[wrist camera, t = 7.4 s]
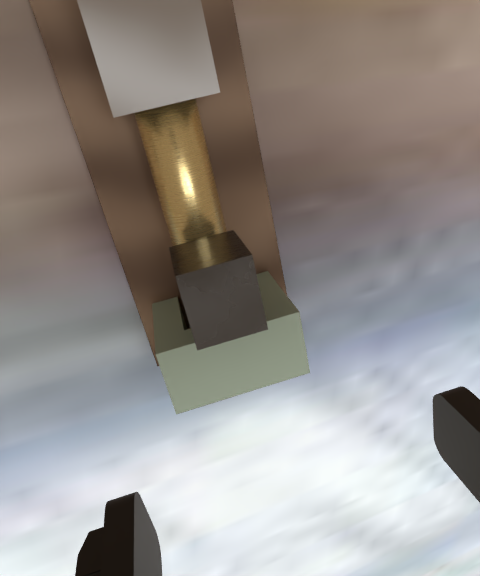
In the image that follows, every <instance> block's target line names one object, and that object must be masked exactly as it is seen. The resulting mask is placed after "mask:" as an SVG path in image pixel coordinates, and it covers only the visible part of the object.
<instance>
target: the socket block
mask: <svg viewBox="0 0 480 576" xmlns="http://www.w3.org/2000/svg"><path fill="white" fill-rule="evenodd" d="M256 275H257V279H258V284H259V289H260V293H261V298H262V303H263V307H264V312H265V317H266V321H267V326H268V330H265V331H261V332H258V333H255V334H251V335H248V336H245V337H241V338H238V339H235V340H231V341H228V342H224V343H221V344H218V345H214V346H211V347H208V348H204V349H201V350H198V351H197V348H196V344H195V341H194V338H193V334H192V331H191V328H190V329H187V327H186V324H185V321H184V317H183V314H182V311H181V307H180V304H179V301H178V298H177V297H174V298H171V299H167V300H164V301H160V302H157V303H153V304H152V310H153V324H154V339H155V354H156V357H157V360H158V363H159V366H160V369H161V372H162V374H163V377H164V380H165V383H166V386H167V389H168V392H169V394H170V397H171V400H172V403H173V406H174V409H175V412H176V414H179V413H182V412H186V411H189V410H192V409H195V408H198V407H202V406H205V405H208V404H211V403H214V402H218V401H221V400H224V399H227V398H230V397H234V396H237V395H240V394H243V393H246V392H250V391H253V390H256V389H259V388H262V387H266V386H269V385H272V384H275V383H278V382H282V381H285V380H288V379H291V378H294V377H298V376H301V375H304V374H307V373H310V370H309V365H308V359H307V353H306V347H305V342H304V336H303V330H302V325H301V319H300V313H299V311H298V310H297V308H296V307H295V306H294V304H293V303H292V302H291V301H290V299H289V298H288V297H287V295H286V294H285V293H284V291H283V290H282V289H281V288H280V286H279V285H278V284H277V282H276V281H275V280H274V278H273V277H272V276H271V275H270V273H269V272H268V271H266V272H262V273H259V274H256Z"/></svg>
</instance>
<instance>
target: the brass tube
mask: <svg viewBox="0 0 480 576" xmlns="http://www.w3.org/2000/svg"><path fill="white" fill-rule="evenodd" d="M134 115H135V118H136V121H137V125H138V128H139V132H140V135H141V139H142V142H143V145H144V149H145V152H146V156H147V159H148V162H149V166H150V169H151V173H152V176H153V180H154V183H155V186H156V190H157V193H158V197H159V200H160V203H161V207H162V210H163V214H164V217H165V221H166V224H167V227H168V231H169V234H170V238H171V241H172V244H173V246H172V247H169V250H170V255H171V259H172V264H173V269H174V273H175V278H176V281H177V284H178V288H179V291H180V294H181V298H182V301H183V304H184V308H185V311H186V314H187V318H188V321H189V324H190V328H191V331H192V334H193V338H194V341H195V344H196V348H197V351H198V350H201V349H204V348H208V347H211V346H214V345H218V344H221V343H224V342H228V341H231V340H235V339H238V338H241V337H245V336H248V335H251V334H255V333H258V332H261V331H265V330H268V326H267V321H266V317H265V312H264V307H263V303H262V298H261V293H260V289H259V284H258V279H257V275H256V270H255V265H254V261H253V256H252V254H251V252H250V251H249V250H248V248H247V247H246V246H245V244H244V243H243V242H242V240H241V239H240V238H239V236H238V235H237V234H236V232H235V231H234V230H231V231H227V230H226V226H225V222H224V217H223V213H222V209H221V205H220V200H219V196H218V192H217V187H216V183H215V179H214V175H213V170H212V166H211V162H210V158H209V153H208V149H207V145H206V141H205V136H204V132H203V128H202V123H201V119H200V115H199V111H198V106H197V102H196V98H195V99H191V100H187V101H182V102H178V103H174V104H170V105H165V106H161V107H157V108H153V109H149V110H144V111H140V112H136V113H134Z"/></svg>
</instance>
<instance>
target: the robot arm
mask: <svg viewBox="0 0 480 576" xmlns="http://www.w3.org/2000/svg"><path fill="white" fill-rule="evenodd" d="M433 427H434V441H435V444H436V447H437V449H438V451H439V453H440V455H441V457H442V458H443V460H444V461H445V462H446V463H447V464H448V466H449V467H450V468H451V469H452V470H453V472H454V473H455V474H456V475H457V476H458V477H459V479H460V480H461V481H462V482H463V483H464V485H465V486H466V487H467V488H468V489H469V490H470V492H471V493H472V494H473V495H474V496H475V498H476V499H477V500H478V501H479V502H480V399H478V398H477V397H476V396H475V395H474V394H473V393H472V392H470V391H469V390H468V389H467V388H465V387H458V388H455V389H452V390H449V391H445V392H442V393H439V394H436V395H435V396H434V397H433ZM75 576H162V563H161V551H160V545H159V540H158V536H157V533H156V530H155V528H154V526H153V523H152V521H151V519H150V517H149V514H148V512H147V510H146V508H145V505H144V503H143V501H142V499H141V497H140V495H139V493H138V492H135V493H132V494H129V495H126V496H123V497H120V498H117V499H113V500H110V501H108V502H107V503H106V507H105V518H104V527H102V528H99V529H96V530H93V531H90V532H89V533H88V535H87V538H86V540H85V542H84V544H83V546H82V548H81V550H80V552H79V554H78V559H77V566H76V574H75Z"/></svg>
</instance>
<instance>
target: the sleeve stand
mask: <svg viewBox="0 0 480 576" xmlns="http://www.w3.org/2000/svg"><path fill="white" fill-rule="evenodd" d="M29 2H30V4H31V7H32V10H33V13H34V16H35V19H36V21H37V24H38V27H39V30H40V33H41V36H42V39H43V41H44V44H45V47H46V50H47V53H48V56H49V58H50V61H51V64H52V67H53V70H54V73H55V76H56V78H57V81H58V84H59V87H60V90H61V93H62V95H63V98H64V101H65V104H66V107H67V110H68V113H69V115H70V118H71V121H72V124H73V127H74V130H75V132H76V135H77V138H78V141H79V144H80V147H81V150H82V152H83V155H84V158H85V161H86V164H87V167H88V169H89V172H90V175H91V178H92V181H93V184H94V187H95V189H96V192H97V195H98V198H99V201H100V204H101V206H102V209H103V212H104V215H105V218H106V221H107V224H108V226H109V229H110V232H111V235H112V238H113V241H114V243H115V246H116V249H117V252H118V255H119V258H120V261H121V263H122V266H123V269H124V272H125V275H126V278H127V280H128V283H129V286H130V289H131V292H132V295H133V298H134V300H135V303H136V306H137V309H138V312H139V315H140V317H141V320H142V323H143V326H144V329H145V332H146V335H147V337H148V340H149V343H150V346H151V349H152V352H153V354H154V357H155V360H156V363H157V366H159V363H158V360H157V357H156V354H155V339H154V324H153V310H152V304H153V303H157V302H160V301H164V300H167V299H171V298H174V297H177V298H178V301H179V304H180V307H181V311H182V314H183V317H184V321H185V324H186V327H187V329H190V324H189V321H188V318H187V314H186V311H185V308H184V304H183V301H182V298H181V294H180V291H179V288H178V284H177V281H176V278H175V273H174V269H173V264H172V259H171V255H170V250H169V247H172V246H173V244H172V241H171V238H170V234H169V231H168V227H167V224H166V221H165V217H164V214H163V210H162V207H161V203H160V200H159V197H158V193H157V190H156V186H155V183H154V180H153V176H152V173H151V169H150V166H149V162H148V159H147V156H146V152H145V149H144V145H143V142H142V139H141V135H140V132H139V128H138V125H137V121H136V118H135V115H134V113H136V112H140V111H144V110H149V109H153V108H157V107H161V106H165V105H170V104H174V103H178V102H182V101H187V100H191V99H195V98H196V102H197V106H198V111H199V115H200V119H201V123H202V128H203V132H204V136H205V141H206V145H207V149H208V153H209V158H210V162H211V166H212V170H213V175H214V179H215V183H216V187H217V192H218V196H219V200H220V205H221V209H222V213H223V217H224V222H225V226H226V230H227V231H231V230H234V231H235V232H236V234H237V235H238V236H239V238H240V239H241V240H242V242H243V243H244V244H245V246H246V247H247V248H248V250H249V251H250V252H251V254H252V256H253V261H254V265H255V270H256V274H259V273H262V272H266V271H268V272H269V273H270V275H271V276H272V277H273V278H274V280H275V281H276V282H277V284H278V285H279V286H280V288H281V289H282V290H283V291H284V293H285V294H286V295H287V293H286V287H285V282H284V277H283V271H282V266H281V260H280V255H279V250H278V244H277V239H276V234H275V228H274V223H273V217H272V212H271V207H270V201H269V196H268V190H267V185H266V180H265V174H264V169H263V164H262V158H261V153H260V147H259V142H258V137H257V131H256V126H255V120H254V115H253V110H252V104H251V99H250V94H249V88H248V83H247V77H246V72H245V67H244V61H243V56H242V50H241V45H240V40H239V34H238V29H237V24H236V18H235V13H234V7H233V2H232V0H29Z"/></svg>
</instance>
